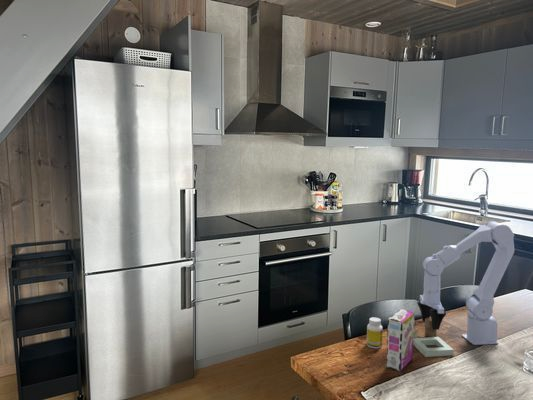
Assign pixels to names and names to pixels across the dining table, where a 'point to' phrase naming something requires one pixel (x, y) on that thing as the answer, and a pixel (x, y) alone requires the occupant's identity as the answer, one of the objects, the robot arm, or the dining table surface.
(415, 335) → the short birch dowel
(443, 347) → the hole board
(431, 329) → the brown wooden peg
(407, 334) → the candy bar box
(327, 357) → the dining table surface
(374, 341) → the supplement bottle
